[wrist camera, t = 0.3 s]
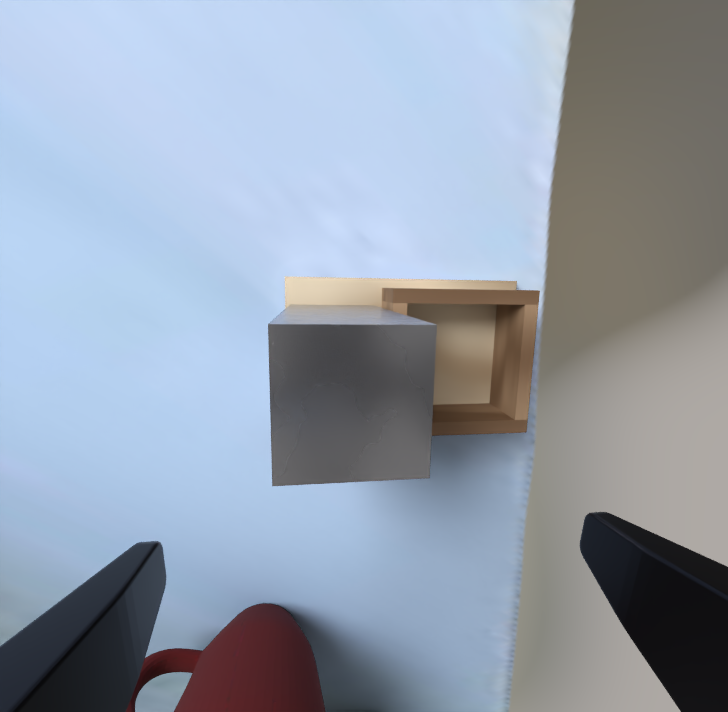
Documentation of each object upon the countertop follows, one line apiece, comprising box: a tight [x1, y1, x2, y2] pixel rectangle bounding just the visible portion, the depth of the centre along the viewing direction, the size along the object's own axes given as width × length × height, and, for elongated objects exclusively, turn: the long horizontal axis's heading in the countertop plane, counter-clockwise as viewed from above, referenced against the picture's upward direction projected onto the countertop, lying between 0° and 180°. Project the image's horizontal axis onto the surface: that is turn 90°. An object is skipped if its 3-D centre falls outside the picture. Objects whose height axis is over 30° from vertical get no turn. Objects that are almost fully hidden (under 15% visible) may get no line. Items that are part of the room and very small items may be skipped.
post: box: [268, 304, 437, 486], centre depth 16 cm, size 4×4×11 cm
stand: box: [285, 277, 540, 436], centre depth 21 cm, size 8×13×4 cm, turn 89°
